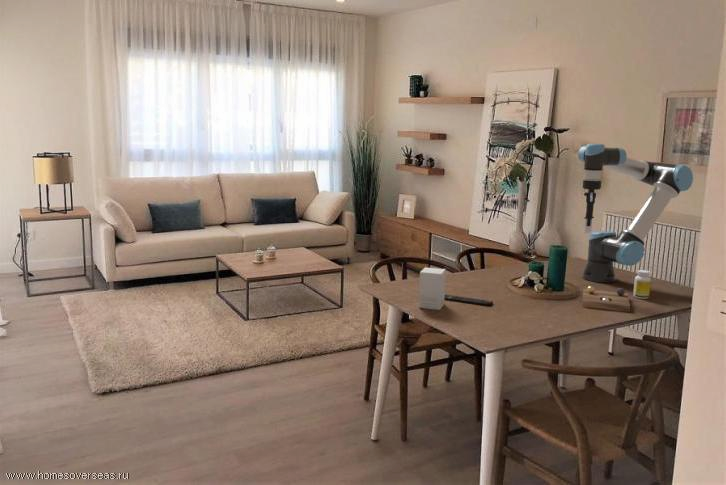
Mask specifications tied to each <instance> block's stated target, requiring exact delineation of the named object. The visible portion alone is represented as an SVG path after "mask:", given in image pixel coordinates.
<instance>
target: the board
mask: <svg viewBox="0 0 726 485" xmlns="http://www.w3.org/2000/svg"><path fill="white" fill-rule="evenodd" d="M628 294H629V293H628V292H625V293H624V295H618V294H617V291H612V290H601V289H595V292H594V293H592V294H590V293H588V292H587V288H585V287H583V289H582V303H581V304H582V308H589V309H590V308H591V309H600V310H609V311H610V310H611V311H617V312H626V313H627V312H628V313H630V311H631V310H630V309H631V304H630V299H629V295H628ZM603 298H608V299H609V301H603V300H602V299H603Z"/></svg>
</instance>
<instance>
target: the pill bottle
mask: <svg viewBox="0 0 726 485" xmlns="http://www.w3.org/2000/svg"><path fill="white" fill-rule="evenodd" d="M651 283H652V278H651V277H650V270H644V269H639V270H638V269H637V275H636V276H635V277H634V284H633V292H632V295H633V298H634V297H635V298H637V299H642V300H647V299H649V298H650V293H651V292H650V291H651Z"/></svg>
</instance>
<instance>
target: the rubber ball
mask: <svg viewBox="0 0 726 485" xmlns="http://www.w3.org/2000/svg"><path fill="white" fill-rule="evenodd" d="M616 292H617V294H618V295H624V293H626V292H625V289H624V288H623V287H619V288H617V290H616Z"/></svg>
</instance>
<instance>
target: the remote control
mask: <svg viewBox="0 0 726 485" xmlns="http://www.w3.org/2000/svg"><path fill="white" fill-rule="evenodd" d="M449 300H450V301H449ZM444 301H449V302H457V303H462V302H463V304H470V305H471V304H472V305H478V306H484V307H492V306H493V304H494V301H493V300H486V299H479V298H471V297H464V296H460V295H459V296H458V295H452V294H445V300H444Z"/></svg>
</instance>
